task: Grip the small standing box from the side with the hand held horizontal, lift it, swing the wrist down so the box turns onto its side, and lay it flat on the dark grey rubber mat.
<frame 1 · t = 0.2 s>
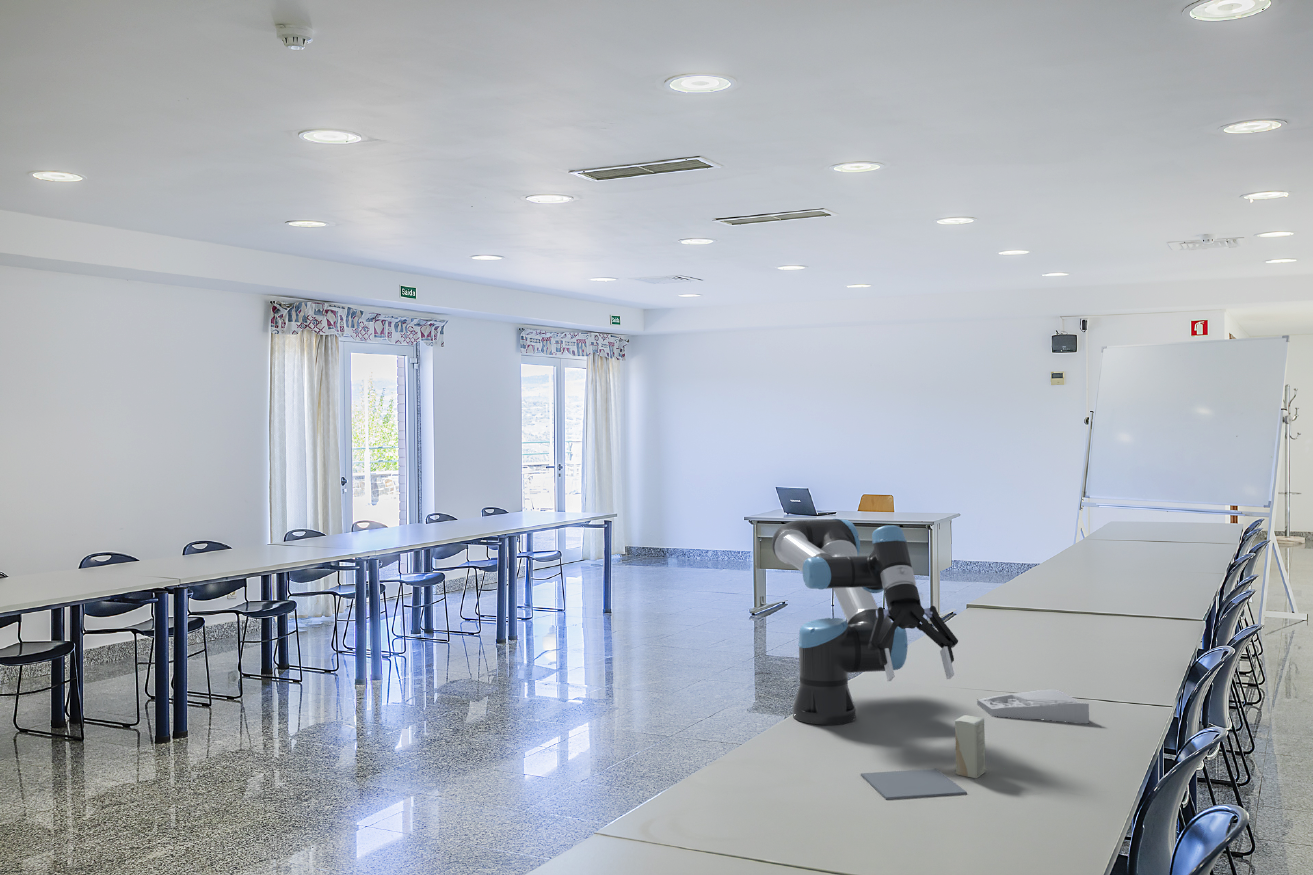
hand: (921, 678, 222), 15 cm above the table, tool tilted 35°, fingers open, 13 cm apart
box: (970, 774, 205), on the table
ramp: (1031, 716, 249), on the table
mat: (912, 784, 200), on the table
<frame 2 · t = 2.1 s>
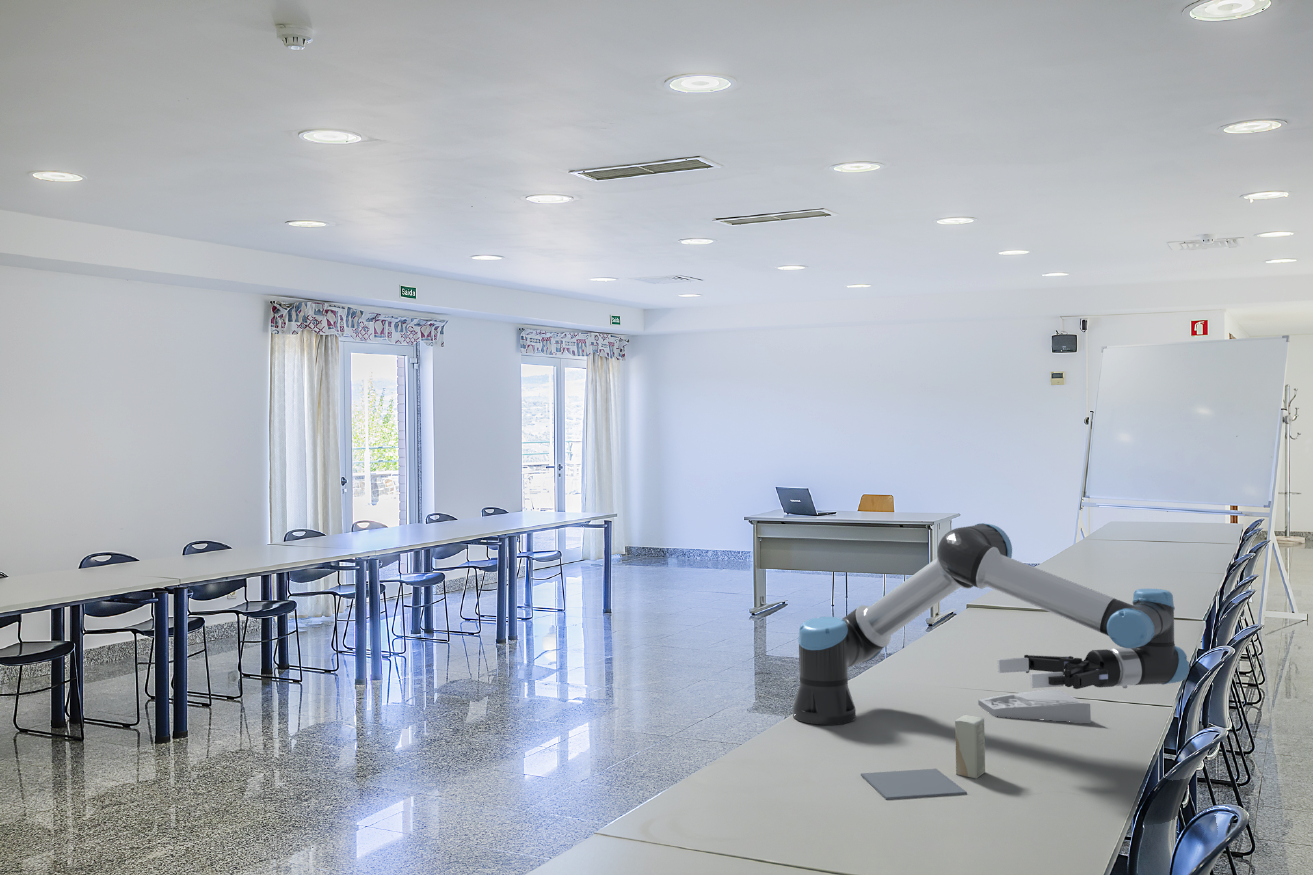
hand: (1014, 673, 207), 20 cm above the table, tool horizontal, fingers open, 13 cm apart
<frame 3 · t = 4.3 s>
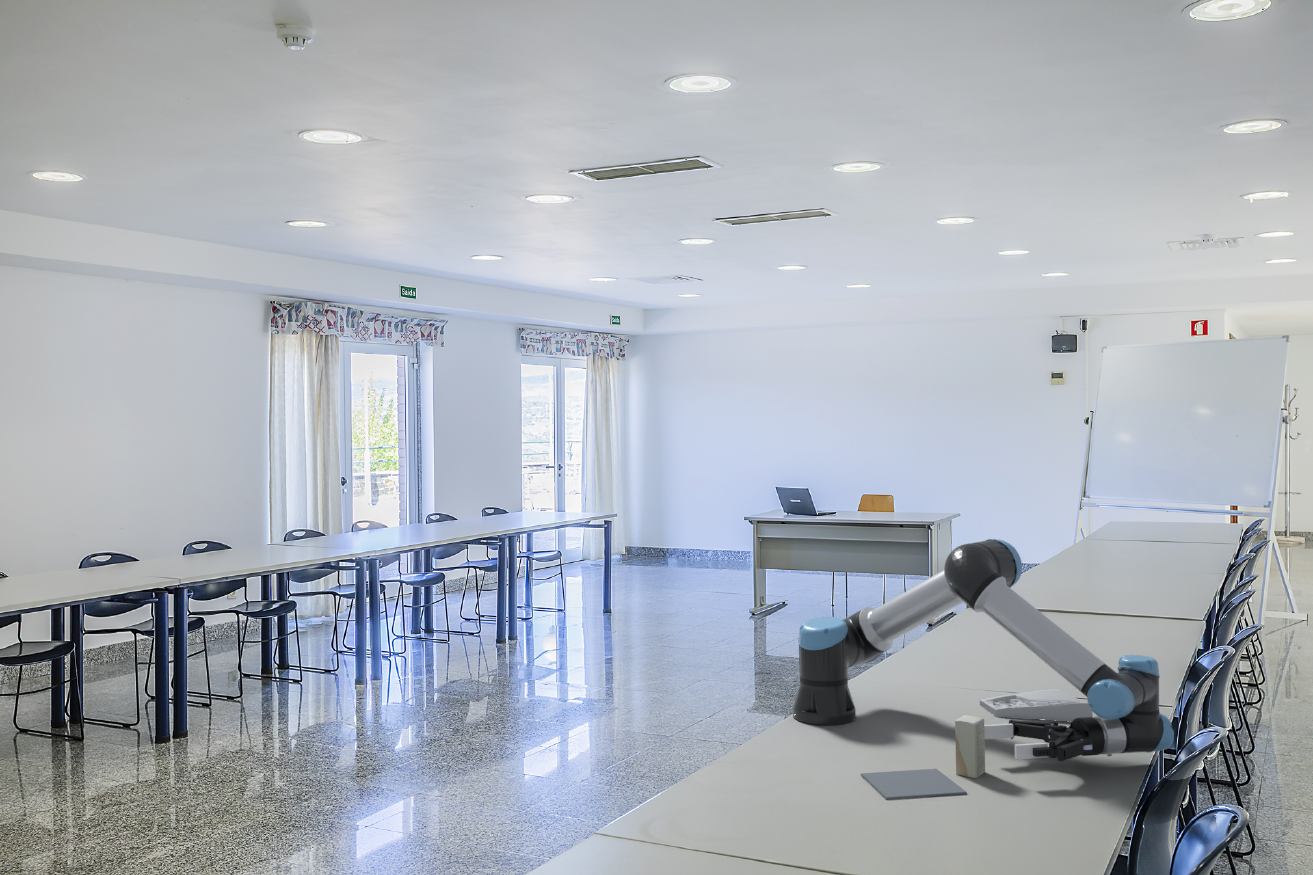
hand: (998, 741, 206), 6 cm above the table, tool horizontal, fingers open, 13 cm apart
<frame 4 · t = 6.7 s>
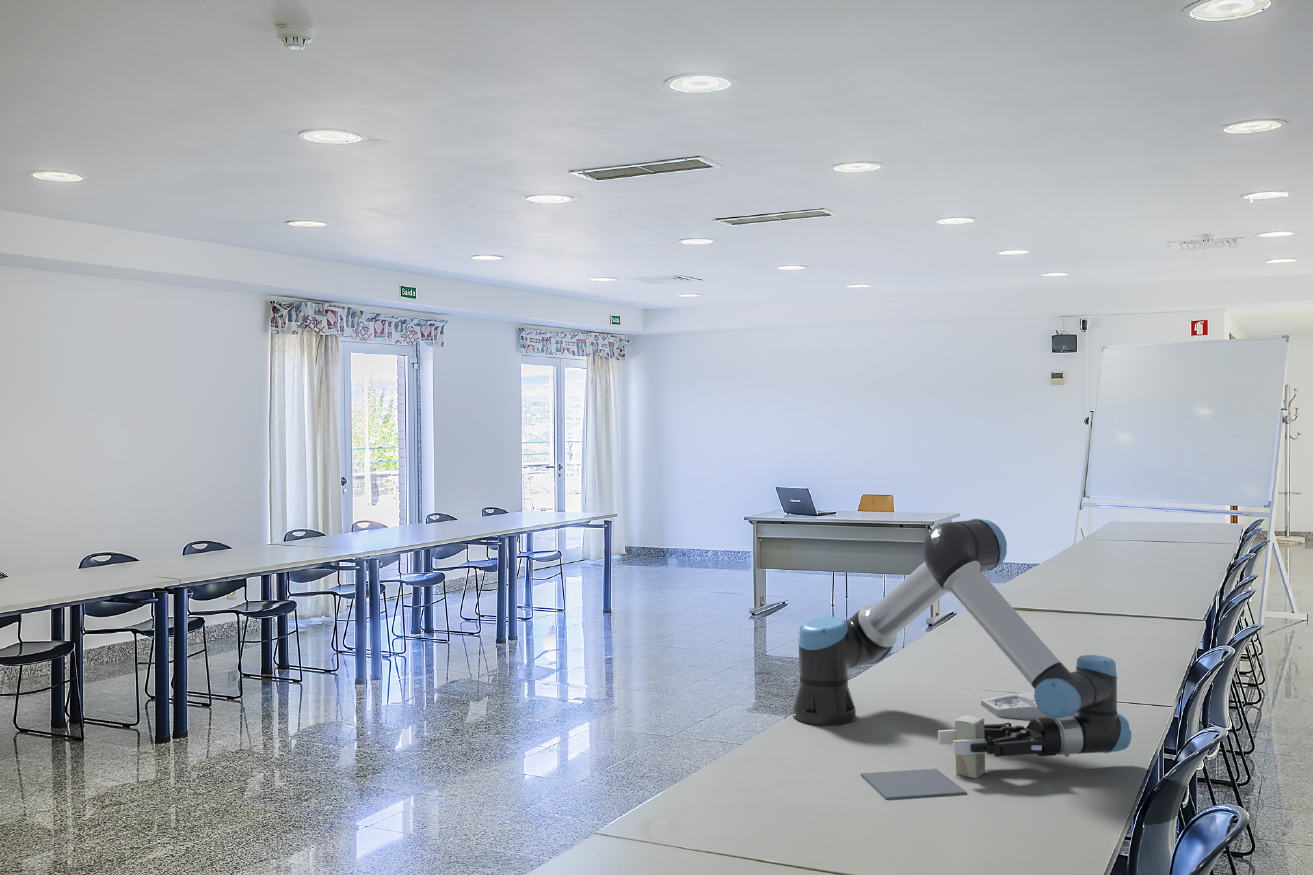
hand: (946, 742, 205), 7 cm above the table, tool horizontal, fingers closed on box, 6 cm apart
box: (970, 774, 205), on the table, touching gripper
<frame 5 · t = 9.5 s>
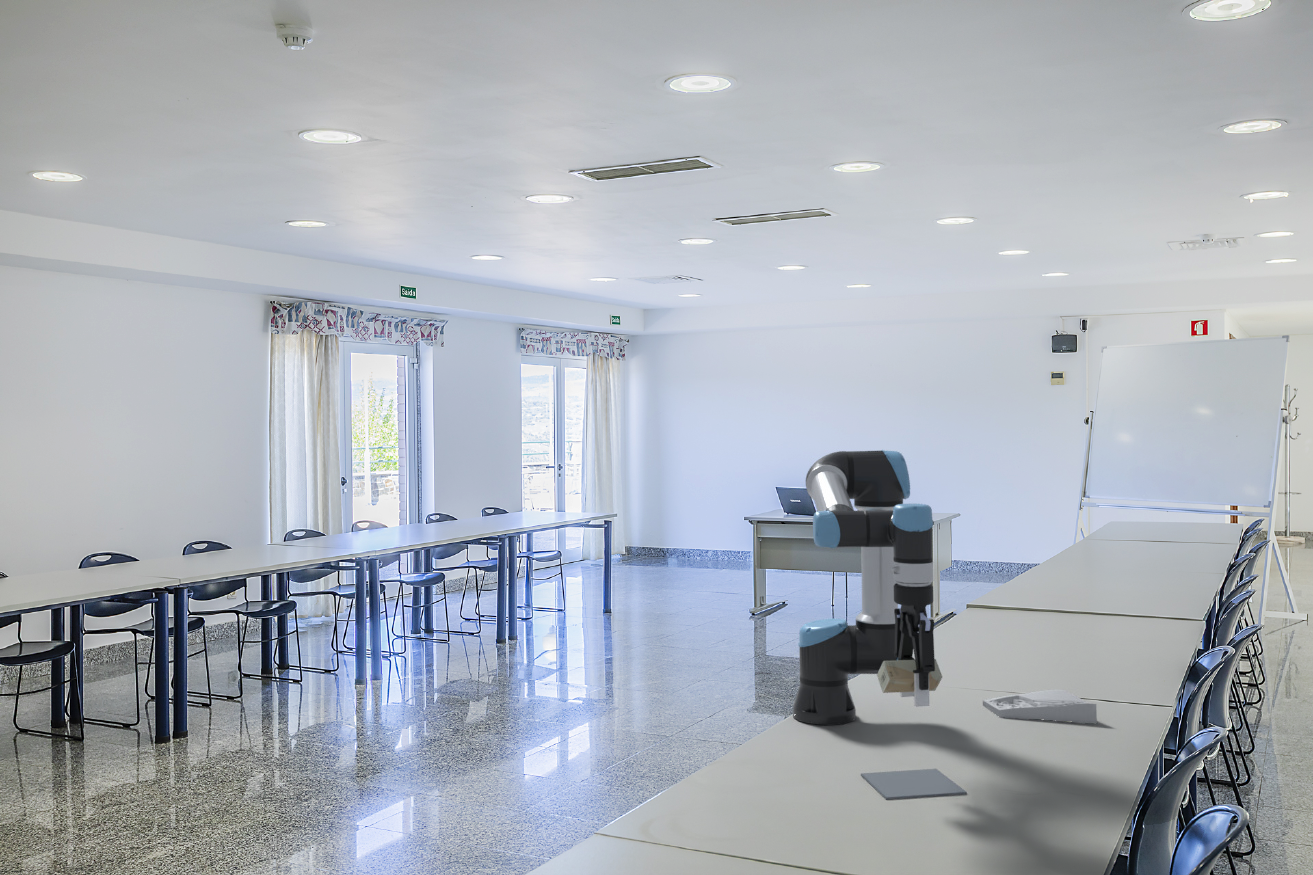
hand: (914, 700, 200), 16 cm above the table, tool pointing down, fingers closed on box, 6 cm apart
box: (881, 677, 199), point 21 cm above the table, touching gripper
when the fingers open (2 cm above the table, at t = 12.3 s): box drops 4 cm, resting on mat.
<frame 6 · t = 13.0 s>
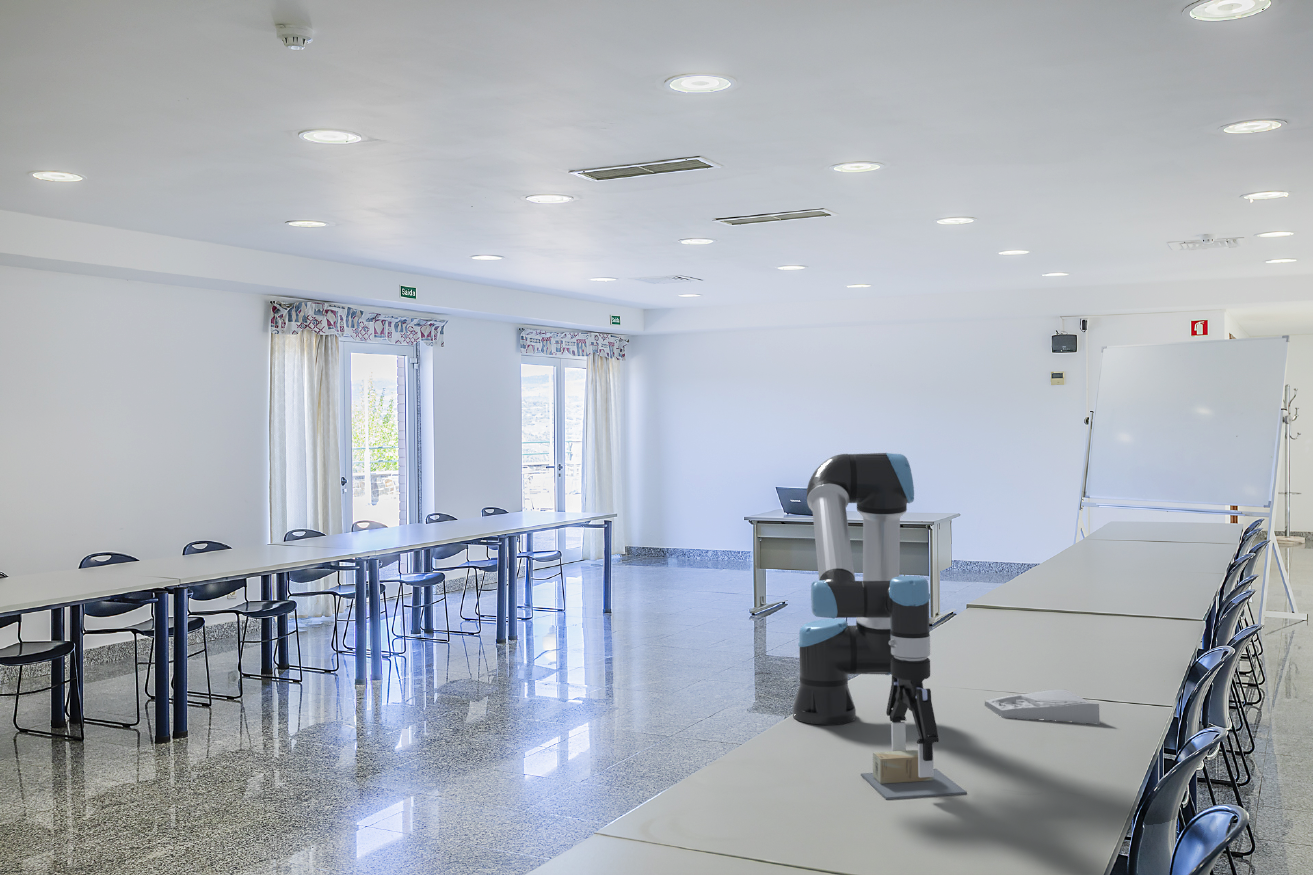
hand: (911, 765, 200), 4 cm above the table, tool pointing down, fingers open, 13 cm apart
box: (875, 768, 201), point 3 cm above the table, touching mat
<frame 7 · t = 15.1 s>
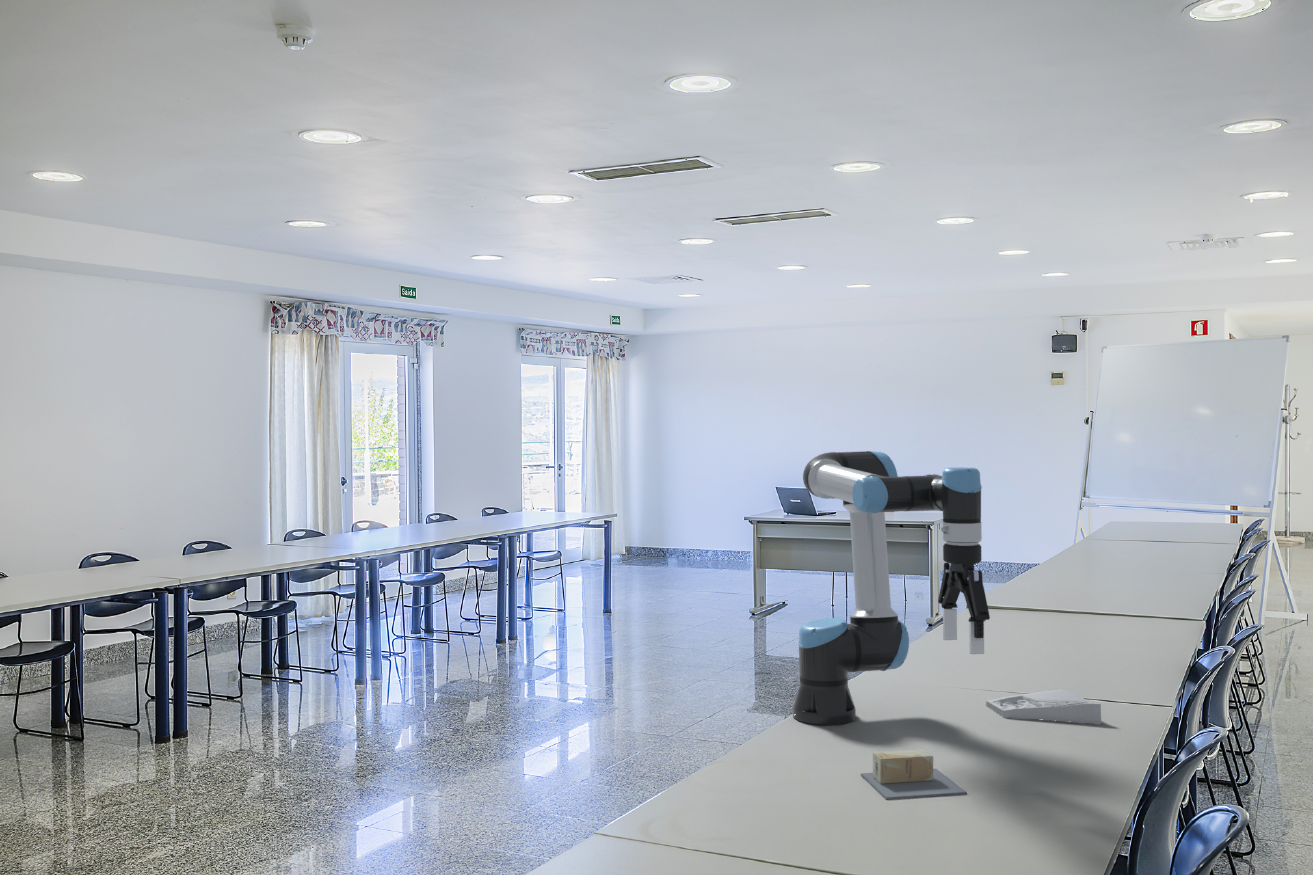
hand: (963, 646, 209), 25 cm above the table, tool pointing down, fingers open, 13 cm apart
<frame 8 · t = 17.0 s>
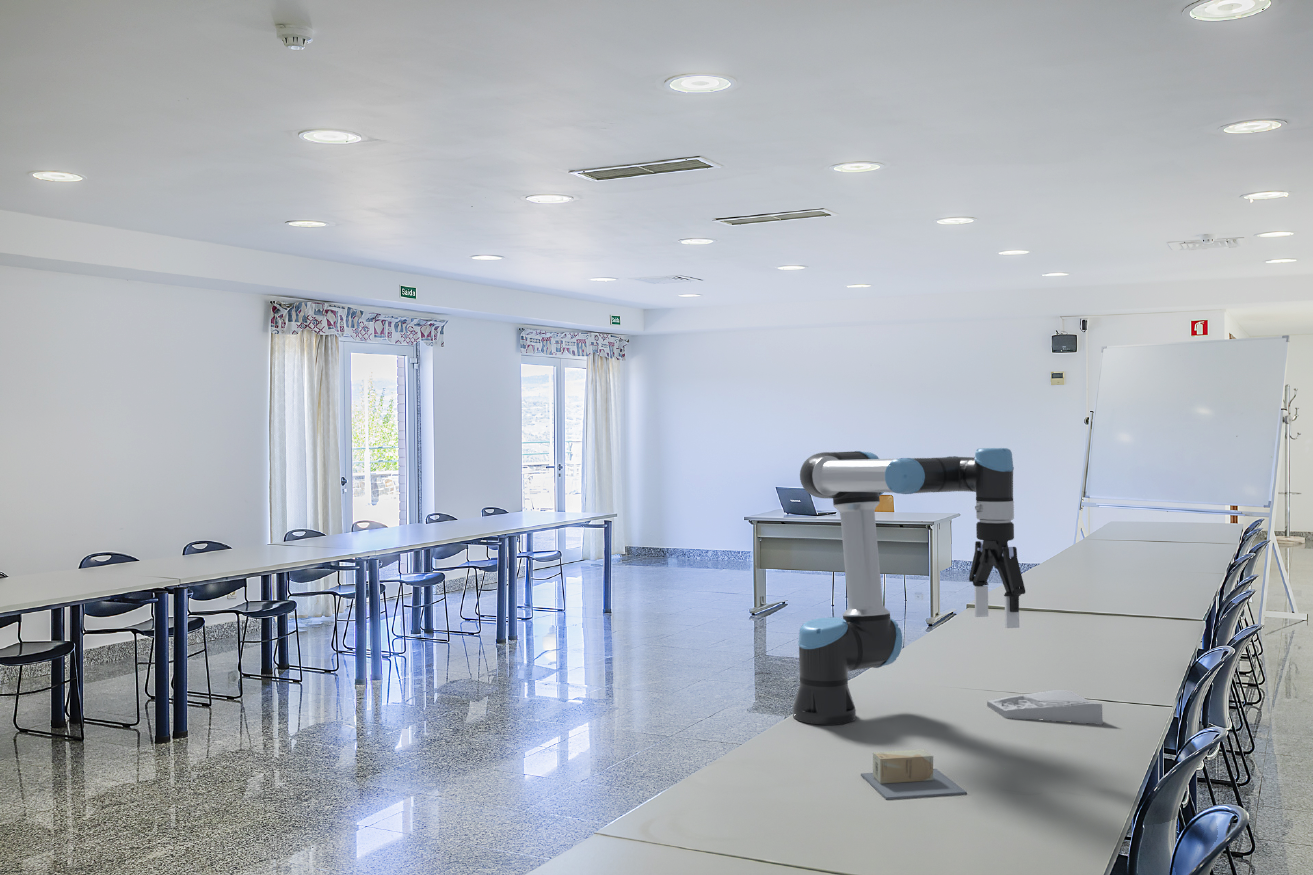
hand: (996, 622, 215), 29 cm above the table, tool pointing down, fingers open, 13 cm apart
at the end: box tilted 89°; box 7.1 cm from the mat (horizontally); the gripper is holding nothing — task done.
